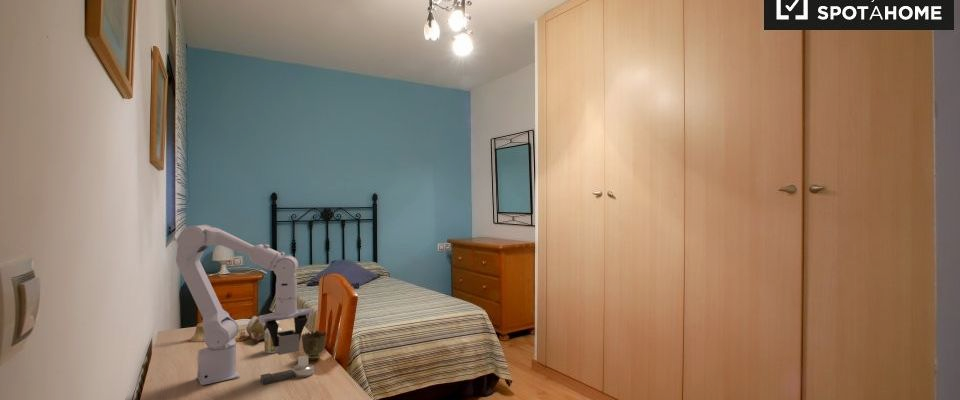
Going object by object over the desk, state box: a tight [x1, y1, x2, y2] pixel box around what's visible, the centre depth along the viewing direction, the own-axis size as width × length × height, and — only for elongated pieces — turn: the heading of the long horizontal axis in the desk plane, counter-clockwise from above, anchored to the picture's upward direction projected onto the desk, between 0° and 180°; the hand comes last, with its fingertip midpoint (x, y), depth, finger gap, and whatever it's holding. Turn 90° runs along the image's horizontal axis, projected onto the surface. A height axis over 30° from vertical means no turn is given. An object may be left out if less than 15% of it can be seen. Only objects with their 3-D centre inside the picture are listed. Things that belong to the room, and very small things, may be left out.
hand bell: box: [189, 314, 205, 343], centre depth 167 cm, size 8×8×16 cm
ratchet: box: [260, 354, 315, 386], centre depth 131 cm, size 14×6×5 cm, turn 129°
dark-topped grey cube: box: [273, 329, 300, 356], centre depth 135 cm, size 6×6×5 cm
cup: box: [301, 330, 327, 361], centre depth 147 cm, size 8×7×8 cm
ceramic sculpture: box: [246, 315, 267, 342], centre depth 168 cm, size 11×9×15 cm
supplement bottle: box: [264, 320, 283, 354], centre depth 154 cm, size 5×5×10 cm
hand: (286, 343), depth 135 cm, fingers closed on dark-topped grey cube, 6 cm apart
